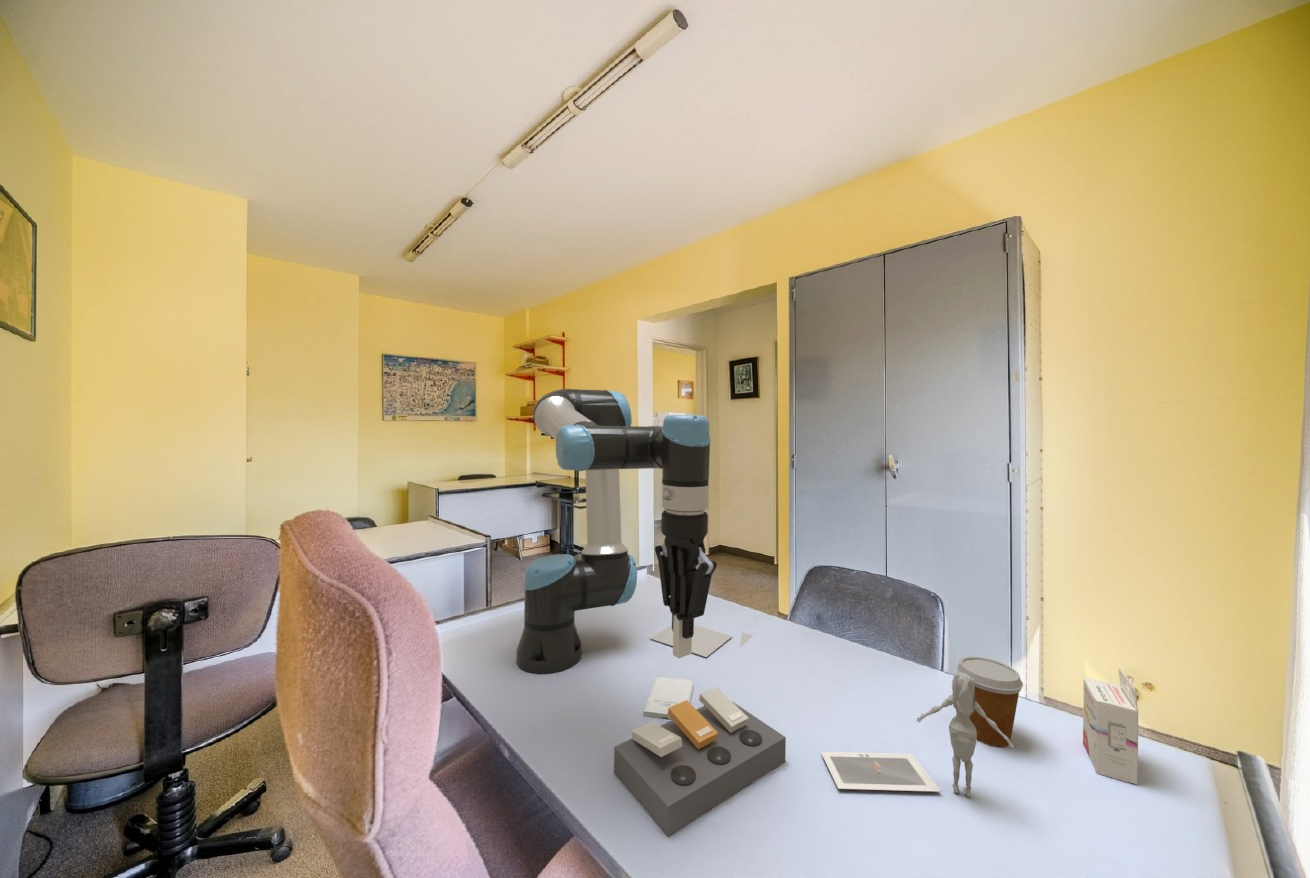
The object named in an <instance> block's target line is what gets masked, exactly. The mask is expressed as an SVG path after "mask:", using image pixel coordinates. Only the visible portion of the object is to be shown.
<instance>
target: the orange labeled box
mask: <svg viewBox="0 0 1310 878" xmlns="http://www.w3.org/2000/svg"><path fill="white" fill-rule="evenodd" d="M696 709H697V708H695V706H693V705H692V704H691V702H690V703H689V702H688V701H687V700H686V701H683V702H681V703H679V704H676V705H674V706H672V707H669V708H668V715H669V716H670V717H671V719H672V720H673V721H674V722H675V723H676V724H677V726H678V727H679V728H680V729H681V730H682V731H683V732H684V734H685V735H686V736H687V737H688V738H689V739H690V741H691V742H692V743H693V744H694V745H695V746H696V747H697V749H700V748H702V747H704V746H706V745H708V744H710V743H711V742H713V741H715V740H717V738H718V732H717V731H716V730H715V729H714V728H713V727H712V726H711V725H710V724H709V723H708V722H707V721H706V720H705V718H704V717H703V716H702V715H701V714H700V713H699V712H698V711H697V710H696ZM672 720H671V721H672Z"/></svg>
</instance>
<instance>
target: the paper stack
mask: <svg viewBox="0 0 1310 878" xmlns="http://www.w3.org/2000/svg"><path fill="white" fill-rule="evenodd" d="M693 631H694V635H693V637H692V647H691V654H696V655H698V656H701V657H704V658H707V657H709V656H710V655H711V654H713V652H715V651H716V650H717V649H719V648H720V647H721V646H722V645H724V644H725V643H727V641H729V640H730V639H731V638H733V635H729V634H727V633H726V634H725V633H722V632H719V631H715V630H713V629H709V628H705V627H702V626H698V625H695V624H694V630H693ZM740 637H741V638H740V643H739V649H741V648H742V647H743V646H744V645H745V644H746V643H747V642H748V641H750V640H751V639H752V638H753V637H754V635H753V634H749V633H746V632H742V633H741V636H740ZM649 639H650V640H653V641H656V642H659V643H663V644H666V645H669V646H672V647H673V631H672V624H671V625H669V626H668V627H666V628H665V629H663V630H661V631H660V632H658V633H656V634H654V635H653V636H651V637H650V638H649Z"/></svg>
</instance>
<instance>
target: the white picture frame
mask: <svg viewBox="0 0 1310 878" xmlns="http://www.w3.org/2000/svg"><path fill="white" fill-rule="evenodd" d="M820 753H821V755H822V757H823V760H824V762H825V764H826V765H827V768H828V770H829V772H830V774H831V776H832V778H833V781H834V783H835V785H836V787H837V789H838V790H869V791H873V790H874V791H902V792H903V791H904V792H905V791H908V792H909V791H910V792H938V793H939V792H941V790H940V788H939V787H938V785H937V784H936V783H935V782H934V781H933V779H932V778H931V776H930V775H929V774H928V773H927V771H926V770H925V769H924V768H923V766H922V765H921V764H920V762H919V761H918V760H917V757H915V755H914V754H913V753H893V752H892V753H890V752H889V753H887V752H884V753H883V752H880V753H879V752H854V751H853V752H847V751H846V752H843V751H820Z"/></svg>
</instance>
